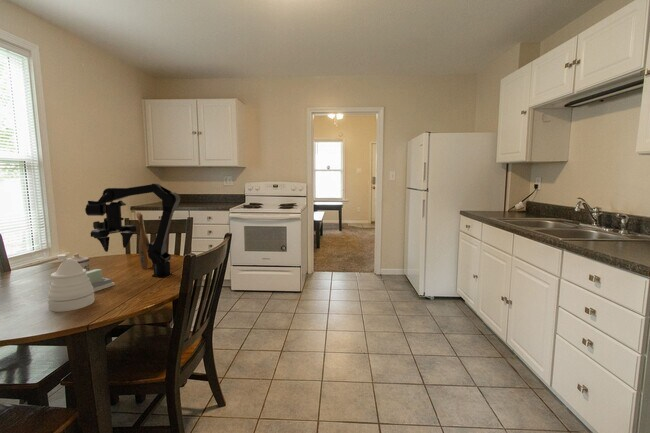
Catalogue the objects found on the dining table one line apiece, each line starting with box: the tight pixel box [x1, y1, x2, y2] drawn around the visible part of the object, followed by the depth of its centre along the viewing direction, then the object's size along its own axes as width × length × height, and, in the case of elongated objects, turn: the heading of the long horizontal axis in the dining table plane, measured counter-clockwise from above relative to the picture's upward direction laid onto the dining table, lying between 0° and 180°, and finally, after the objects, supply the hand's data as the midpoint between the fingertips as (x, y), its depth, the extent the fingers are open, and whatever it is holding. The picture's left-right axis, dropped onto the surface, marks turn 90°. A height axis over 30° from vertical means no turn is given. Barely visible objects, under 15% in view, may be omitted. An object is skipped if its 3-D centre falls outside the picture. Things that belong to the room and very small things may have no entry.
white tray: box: [91, 277, 115, 293], centre depth 132 cm, size 10×12×2 cm
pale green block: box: [86, 268, 104, 284], centre depth 132 cm, size 7×3×6 cm, turn 164°
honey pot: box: [47, 254, 95, 312], centre depth 114 cm, size 13×13×18 cm
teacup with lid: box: [69, 252, 90, 271], centre depth 144 cm, size 12×9×12 cm
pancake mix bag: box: [135, 211, 154, 270], centre depth 166 cm, size 7×19×28 cm, turn 28°
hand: (115, 249), depth 148 cm, fingers open, 9 cm apart
